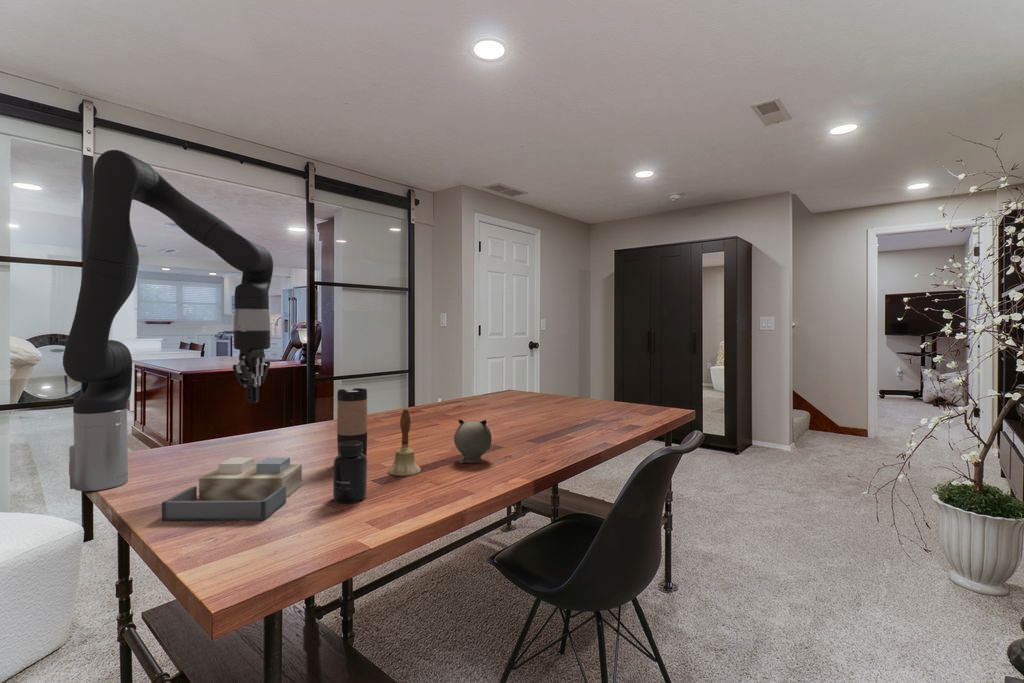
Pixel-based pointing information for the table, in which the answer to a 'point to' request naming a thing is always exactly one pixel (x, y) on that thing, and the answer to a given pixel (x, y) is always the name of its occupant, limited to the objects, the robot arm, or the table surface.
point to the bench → (248, 484)
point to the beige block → (236, 465)
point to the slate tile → (273, 465)
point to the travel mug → (352, 417)
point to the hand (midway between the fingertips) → (252, 402)
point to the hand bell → (404, 452)
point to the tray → (220, 507)
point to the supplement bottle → (350, 473)
